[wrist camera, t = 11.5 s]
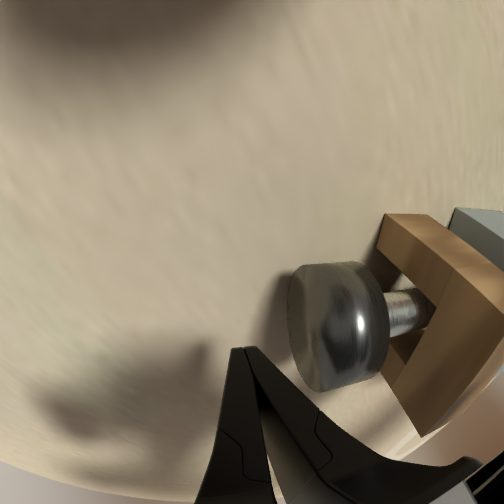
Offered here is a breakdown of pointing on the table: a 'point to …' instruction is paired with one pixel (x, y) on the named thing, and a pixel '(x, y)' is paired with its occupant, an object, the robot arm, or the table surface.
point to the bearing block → (482, 234)
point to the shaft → (347, 322)
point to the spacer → (443, 321)
